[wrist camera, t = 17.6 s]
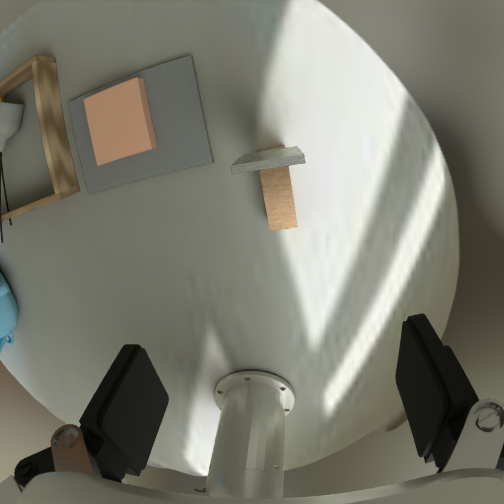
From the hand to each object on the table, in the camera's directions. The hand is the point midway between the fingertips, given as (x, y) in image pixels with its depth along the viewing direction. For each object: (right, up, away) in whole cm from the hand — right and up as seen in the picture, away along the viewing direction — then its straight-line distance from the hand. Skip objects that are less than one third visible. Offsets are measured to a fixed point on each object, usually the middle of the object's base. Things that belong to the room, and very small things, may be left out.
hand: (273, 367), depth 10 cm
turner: (+1, +12, +15) cm, 19 cm away
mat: (-14, +18, +20) cm, 30 cm away
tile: (-14, +14, +20) cm, 28 cm away
